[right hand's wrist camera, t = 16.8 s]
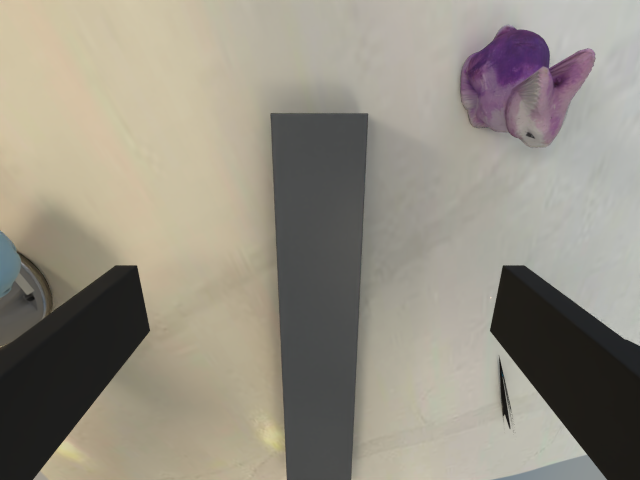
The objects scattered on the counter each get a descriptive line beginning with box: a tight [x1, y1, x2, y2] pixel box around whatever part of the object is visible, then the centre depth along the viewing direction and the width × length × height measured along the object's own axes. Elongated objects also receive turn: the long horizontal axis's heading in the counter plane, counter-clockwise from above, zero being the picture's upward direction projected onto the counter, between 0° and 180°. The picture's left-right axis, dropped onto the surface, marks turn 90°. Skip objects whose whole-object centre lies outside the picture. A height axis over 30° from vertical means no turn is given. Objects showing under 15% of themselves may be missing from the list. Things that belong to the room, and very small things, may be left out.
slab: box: [271, 113, 368, 480], centre depth 50 cm, size 60×10×6 cm, turn 0°
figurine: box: [461, 25, 595, 148], centre depth 34 cm, size 9×10×15 cm
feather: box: [490, 297, 514, 433], centre depth 55 cm, size 2×28×2 cm
